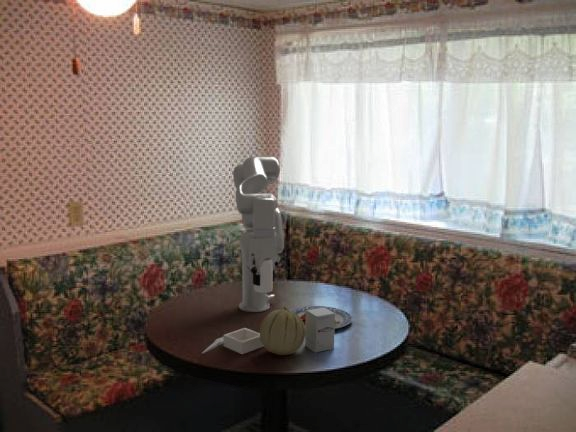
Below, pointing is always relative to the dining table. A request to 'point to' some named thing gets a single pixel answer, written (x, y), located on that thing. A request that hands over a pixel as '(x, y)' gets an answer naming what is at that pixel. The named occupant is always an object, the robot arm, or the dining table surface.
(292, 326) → the cantaloupe
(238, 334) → the can holder
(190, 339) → the dining table surface
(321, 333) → the supplement box
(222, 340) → the white long tapered piece
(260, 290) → the can
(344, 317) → the ceramic plate
